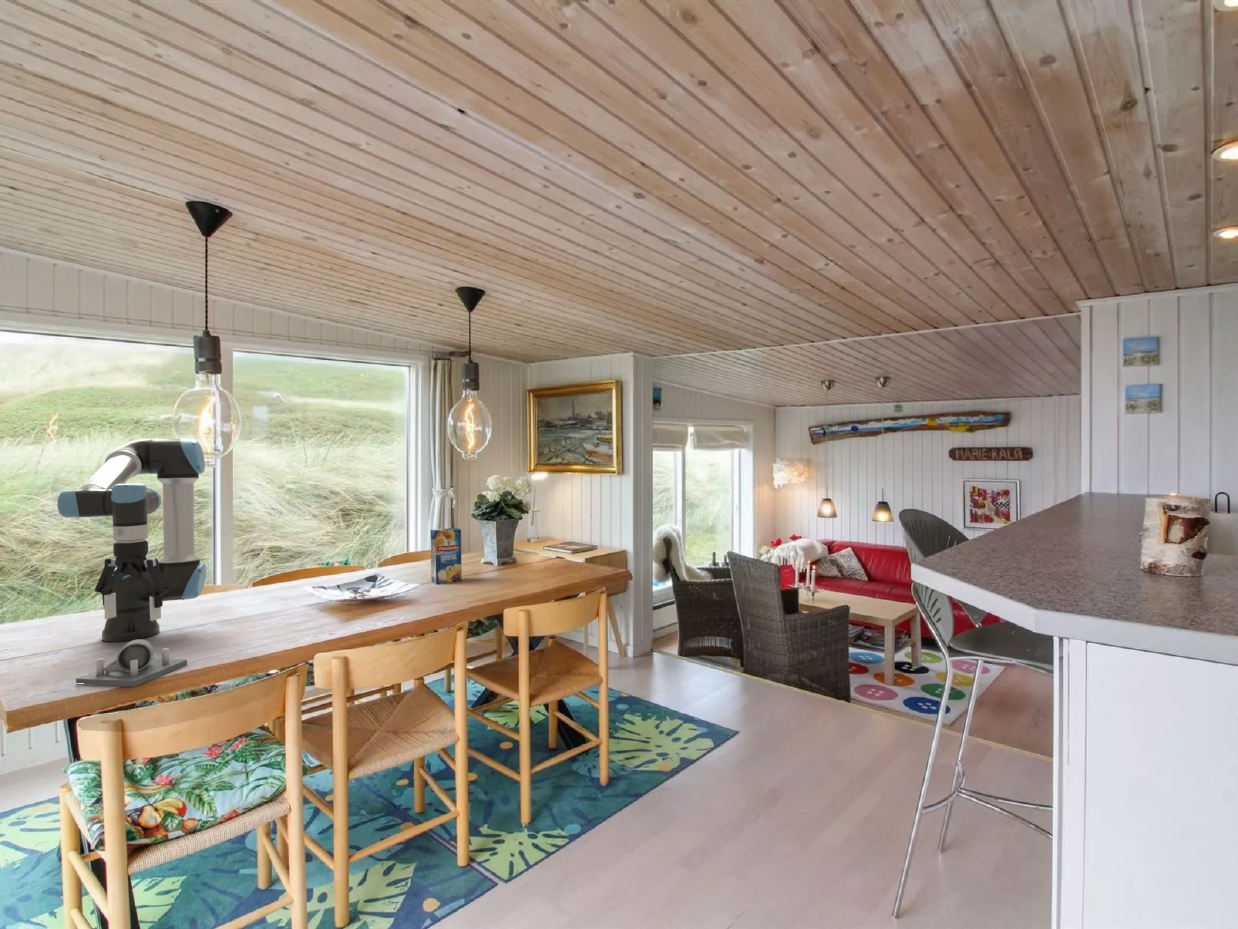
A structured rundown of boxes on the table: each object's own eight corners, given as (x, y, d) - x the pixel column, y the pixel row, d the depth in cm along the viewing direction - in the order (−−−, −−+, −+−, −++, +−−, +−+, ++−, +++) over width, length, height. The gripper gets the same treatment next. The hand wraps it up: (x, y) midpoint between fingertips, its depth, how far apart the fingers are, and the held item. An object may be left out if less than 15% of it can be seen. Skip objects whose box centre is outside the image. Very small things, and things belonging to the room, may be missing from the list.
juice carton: (456, 578, 303) (455, 527, 302) (461, 581, 296) (461, 529, 296) (431, 581, 296) (430, 529, 296) (435, 584, 290) (435, 531, 289)
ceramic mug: (154, 661, 180) (153, 634, 180) (152, 669, 173) (151, 641, 173) (106, 669, 174) (105, 641, 174) (102, 678, 168) (101, 648, 167)
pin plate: (76, 684, 167) (75, 663, 167) (133, 662, 184) (132, 643, 184) (134, 686, 165) (134, 665, 165) (187, 664, 182) (186, 645, 182)
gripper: (76, 542, 171) (78, 621, 172) (161, 543, 168) (163, 624, 169) (102, 538, 179) (104, 613, 180) (183, 539, 176) (185, 616, 176)
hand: (133, 618), depth 174 cm, fingers open, 13 cm apart
